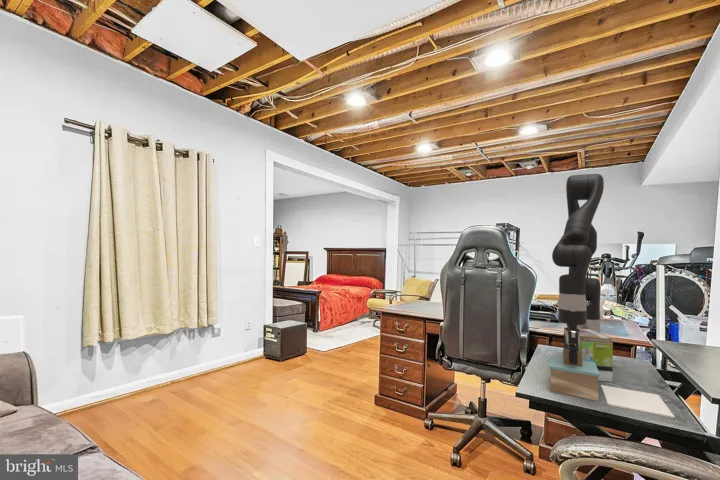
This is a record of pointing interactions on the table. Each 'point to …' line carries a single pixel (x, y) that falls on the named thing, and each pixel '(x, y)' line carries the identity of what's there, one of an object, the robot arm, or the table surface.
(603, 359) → the tea box
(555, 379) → the crate
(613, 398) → the mat
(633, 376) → the table surface
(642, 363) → the table surface
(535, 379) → the table surface
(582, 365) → the lid
